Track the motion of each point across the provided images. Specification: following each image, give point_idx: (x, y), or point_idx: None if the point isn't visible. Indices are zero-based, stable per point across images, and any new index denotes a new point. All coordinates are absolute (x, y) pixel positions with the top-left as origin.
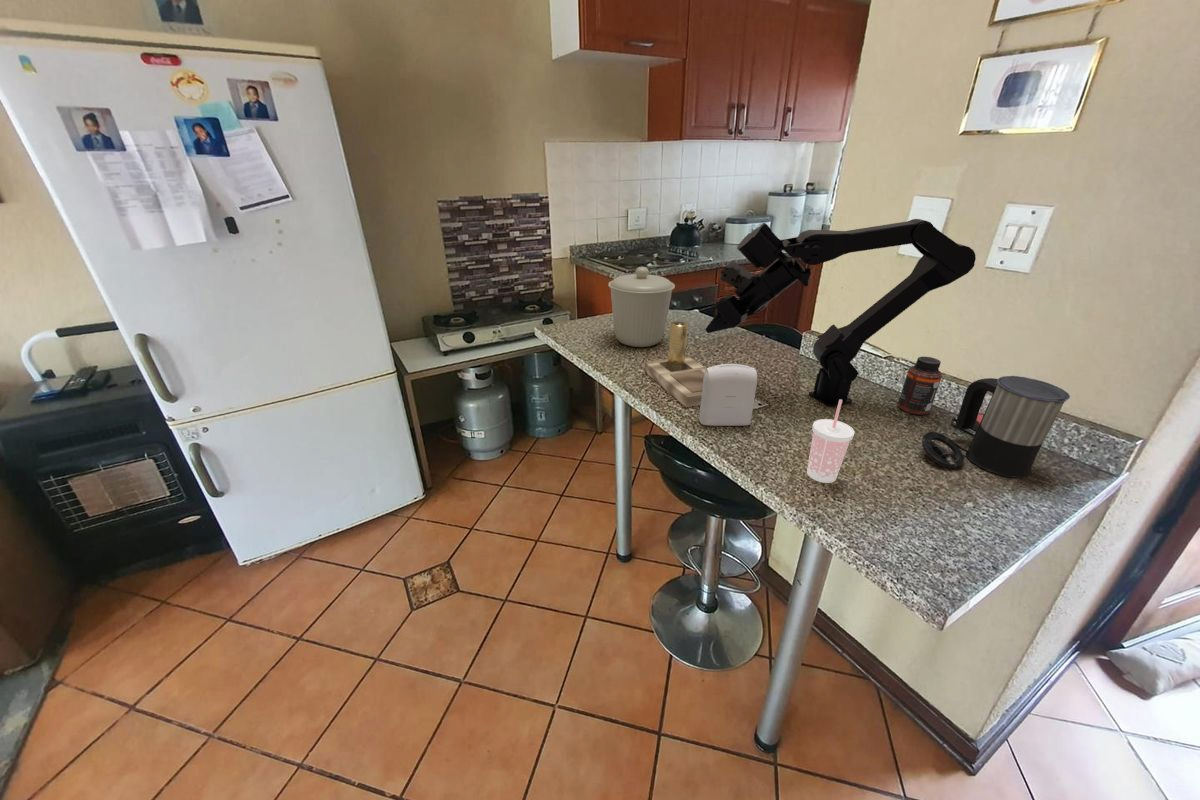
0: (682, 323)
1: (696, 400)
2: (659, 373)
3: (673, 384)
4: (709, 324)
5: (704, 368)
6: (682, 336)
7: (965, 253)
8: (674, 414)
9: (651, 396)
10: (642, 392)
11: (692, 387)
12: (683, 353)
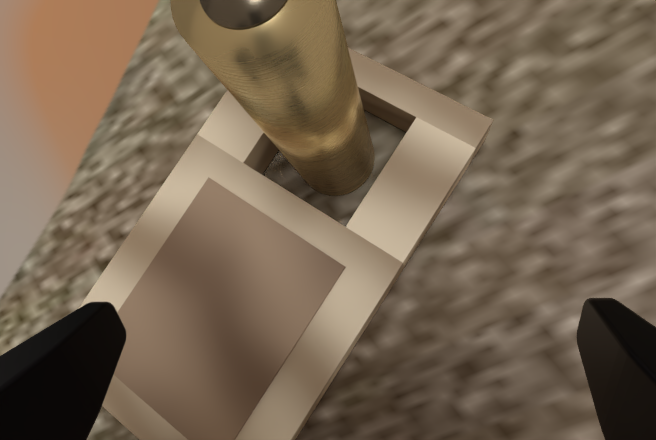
0: (256, 2)
1: None
2: (201, 133)
3: (129, 243)
4: (2, 360)
5: (386, 274)
6: (235, 96)
7: None
8: (20, 335)
9: (106, 193)
10: (119, 148)
11: (131, 332)
12: (296, 154)
